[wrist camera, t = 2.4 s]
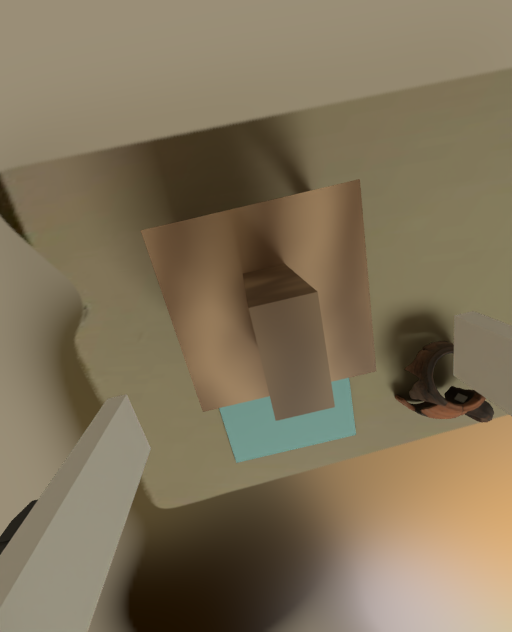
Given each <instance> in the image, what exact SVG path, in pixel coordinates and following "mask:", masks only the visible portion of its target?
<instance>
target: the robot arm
mask: <svg viewBox="0 0 512 632" xmlns="http://www.w3.org/2000/svg"><path fill="white" fill-rule="evenodd" d="M453 376H455V377H456V378H458V379H459V380H461V381H462V382H463V383H465V384H466V385H468V386H469V387H471V388H472V389H474V390H475V391H476V392H478V393H479V394H481V395H482V396H484V397H485V398H486V399H488V400H489V401H491V402H492V403H494V404H495V405H497V406H498V407H499V408H501V409H502V410H504V411H505V412H507V413H508V414H509V415H511V416H512V325H509V324H506V323H504V322H501V321H498V320H496V319H493V318H490V317H488V316H485V315H482V314H480V313H477V312H474V311H472V312H467V313H463V314H459V315H455V316H454V361H453ZM150 450H151V448H150V446H149V443H148V441H147V439H146V437H145V434H144V432H143V430H142V428H141V425H140V423H139V421H138V419H137V416H136V414H135V412H134V410H133V407H132V405H131V403H130V401H129V398H128V396H127V394H125V395H121V396H117V397H113V398H109V399H107V400H106V401H105V403H104V404H103V406H102V407H101V409H100V410H99V412H98V413H97V415H96V416H95V418H94V419H93V421H92V422H91V423H90V425H89V426H88V428H87V429H86V431H85V432H84V434H83V435H82V437H81V438H80V440H79V441H78V442H77V444H76V445H75V447H74V448H73V450H72V451H71V453H70V454H69V456H68V457H67V458H66V460H65V461H64V463H63V464H62V466H61V468H60V469H59V470H58V472H57V473H56V474H55V476H54V478H53V479H52V480H51V482H50V483H49V485H48V486H47V488H46V489H45V491H44V492H43V493H42V495H41V496H40V498H39V499H38V500H34V501H32V502H31V503H29V505H27V507H25V508H24V509H23V510H22V512H20V513H19V514H18V515H17V516H16V517H15V518H14V519H13V520H12V521H11V523H10V524H9V525H8V527H7V528H6V529H5V531H4V532H3V534H2V535H1V536H0V632H88V629H89V626H90V623H91V620H92V617H93V614H94V612H95V609H96V605H97V603H98V600H99V597H100V594H101V591H102V588H103V586H104V583H105V579H106V577H107V574H108V571H109V568H110V565H111V562H112V559H113V557H114V554H115V551H116V548H117V545H118V542H119V539H120V536H121V533H122V530H123V528H124V525H125V522H126V519H127V516H128V513H129V510H130V507H131V505H132V502H133V499H134V496H135V493H136V490H137V487H138V484H139V481H140V479H141V476H142V473H143V470H144V467H145V464H146V461H147V458H148V455H149V452H150Z"/></svg>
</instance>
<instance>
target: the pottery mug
mask: <svg viewBox="0 0 512 632" xmlns="http://www.w3.org/2000/svg"><path fill="white" fill-rule="evenodd" d="M449 353H454V344H452V343H449V342H447V341H439V342H434V343H431V344H428V345H426V346H424V347H423V350H420V351H419V352H418V354H417V356H416V358H415V360H414V361H413V362H412V363H411V364H410V365H408V366H407V367H406V368H405V370H406V371H409V372H411V373H412V374H414V375H415V376H417V377H418V378H419V379H420V380H419V381H417V382H415V384H414V385H413V387H412V389H411V390H410V391H409V394H410V397H411V398H412V399H419V400H421V401H425V402H423V403H419V404H410V403H408V402H407V401H406V400H405V399H404V398H401V397H399V396H398V395H396V396H395V398H396V399H397V400H398V401H399V402H400V403H402V404H403V405H405V406H406V407H408V408H409V409H411V410H413V411H415V412H417V413H418V414H421V415H423V416H427V417H430V418H436V419H450V418H456V417H458V416H460V415H463V414H465V415H467V416H469V417H471V418H472V419H474V420H476V421H479V422H488V421H490V420H492V417H493V415H494V411H493V408H492V406H491V405H490V404H489V403H488V402H486V401H485V399H486V398H485V397H484V396H482V395H481V394H479V393H478V392H476V391H475V390H464V389H461V388H456V387H454V386H451V387H450V388H449V390H448V391H447V392H446V393H445V398H443V397H442V396H441V395H440V393H439V392H438V390H437V388H436V386H435V384H434V380H433V371H434V367H435V364H436V362H437V361H438V360H439V359H440V358H441V357H442V356H444V355H446V354H449Z"/></svg>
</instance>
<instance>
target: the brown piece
mask: <svg viewBox="0 0 512 632" xmlns="http://www.w3.org/2000/svg"><path fill="white" fill-rule="evenodd" d="M141 233H142V236H143V239H144V242H145V245H146V247H147V250H148V253H149V256H150V259H151V262H152V265H153V268H154V271H155V274H156V277H157V279H158V282H159V285H160V288H161V291H162V294H163V297H164V300H165V303H166V306H167V309H168V311H169V314H170V317H171V320H172V323H173V326H174V329H175V332H176V335H177V338H178V341H179V343H180V346H181V349H182V352H183V355H184V358H185V361H186V364H187V367H188V370H189V373H190V375H191V378H192V381H193V384H194V387H195V390H196V393H197V396H198V399H199V402H200V405H201V408H202V410H203V412H205V411H209V410H213V409H217V408H222V407H226V406H230V405H234V404H239V403H243V402H247V401H251V400H256V399H260V398H264V397H269V396H270V399H271V403H272V408H273V412H274V416H275V420H276V421H278V420H282V419H287V418H291V417H295V416H299V415H304V414H308V413H312V412H317V411H321V410H325V409H329V408H334V407H335V404H334V397H333V390H332V384H331V382H333V381H337V380H341V379H345V378H350V377H354V376H358V375H362V374H367V373H371V372H375V371H376V362H375V351H374V339H373V327H372V316H371V304H370V293H369V281H368V269H367V258H366V246H365V235H364V223H363V212H362V200H361V188H360V179H358V180H354V181H350V182H346V183H341V184H337V185H333V186H329V187H324V188H320V189H316V190H311V191H307V192H303V193H299V194H294V195H290V196H286V197H281V198H277V199H273V200H269V201H264V202H260V203H256V204H252V205H247V206H243V207H239V208H234V209H230V210H226V211H222V212H217V213H213V214H209V215H204V216H200V217H196V218H192V219H187V220H183V221H179V222H175V223H170V224H166V225H162V226H157V227H153V228H149V229H145V230H141Z"/></svg>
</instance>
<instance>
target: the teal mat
mask: <svg viewBox="0 0 512 632" xmlns="http://www.w3.org/2000/svg"><path fill="white" fill-rule="evenodd" d="M331 384H332V390H333V397H334V404H335V407H334V408H329V409H325V410H321V411H317V412H312V413H308V414H304V415H299V416H295V417H291V418H287V419H282V420H278V421H276V420H275V416H274V412H273V408H272V403H271V399H270V396H269V397H264V398H260V399H256V400H251V401H247V402H243V403H239V404H234V405H230V406H226V407H222V408H219V409H220V412H221V415H222V419H223V422H224V425H225V428H226V431H227V434H228V437H229V441H230V444H231V447H232V450H233V453H234V456H235V459H236V463H238V462H242V461H246V460H250V459H255V458H259V457H263V456H267V455H272V454H276V453H280V452H285V451H289V450H293V449H297V448H302V447H306V446H310V445H314V444H319V443H323V442H327V441H331V440H336V439H340V438H344V437H348V436H353V435H356V431H355V423H354V415H353V407H352V399H351V391H350V383H349V378H345V379H341V380H337V381H333V382H331Z"/></svg>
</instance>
